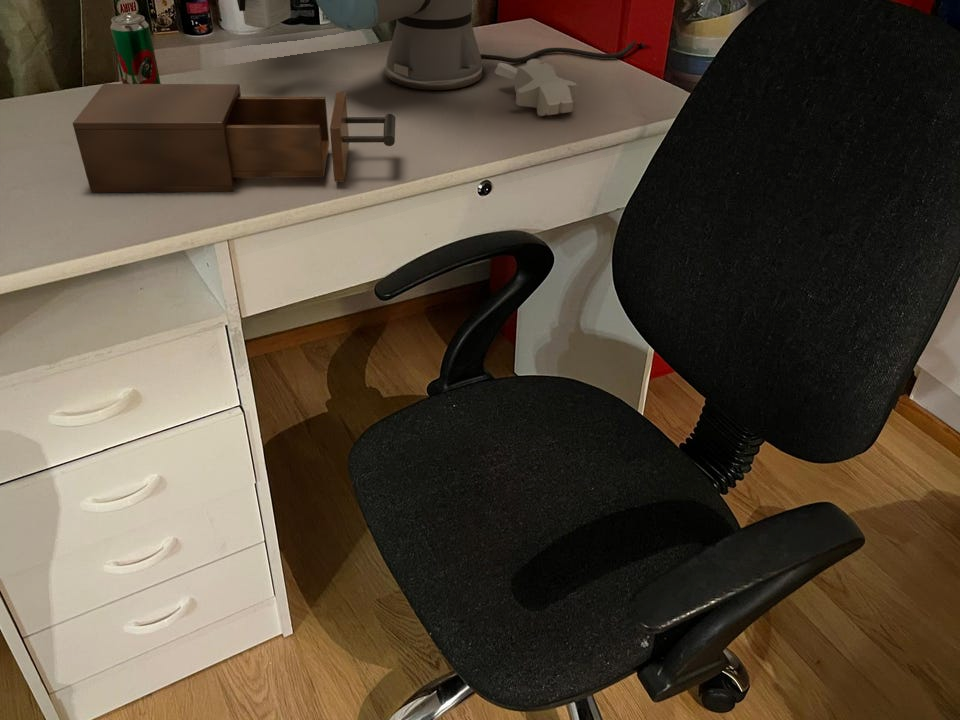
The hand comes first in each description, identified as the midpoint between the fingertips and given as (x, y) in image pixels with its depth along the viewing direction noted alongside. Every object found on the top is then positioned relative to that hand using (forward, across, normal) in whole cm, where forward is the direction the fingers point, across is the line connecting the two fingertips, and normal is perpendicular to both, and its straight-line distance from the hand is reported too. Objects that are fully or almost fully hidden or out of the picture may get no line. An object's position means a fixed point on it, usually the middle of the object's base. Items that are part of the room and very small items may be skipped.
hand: (270, 3), depth 119 cm
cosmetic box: (0, 0, -5) cm, 5 cm away
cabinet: (+23, +17, +4) cm, 29 cm away
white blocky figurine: (+18, -36, -2) cm, 40 cm away
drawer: (+26, +1, +8) cm, 27 cm away
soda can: (+6, +19, -13) cm, 24 cm away
